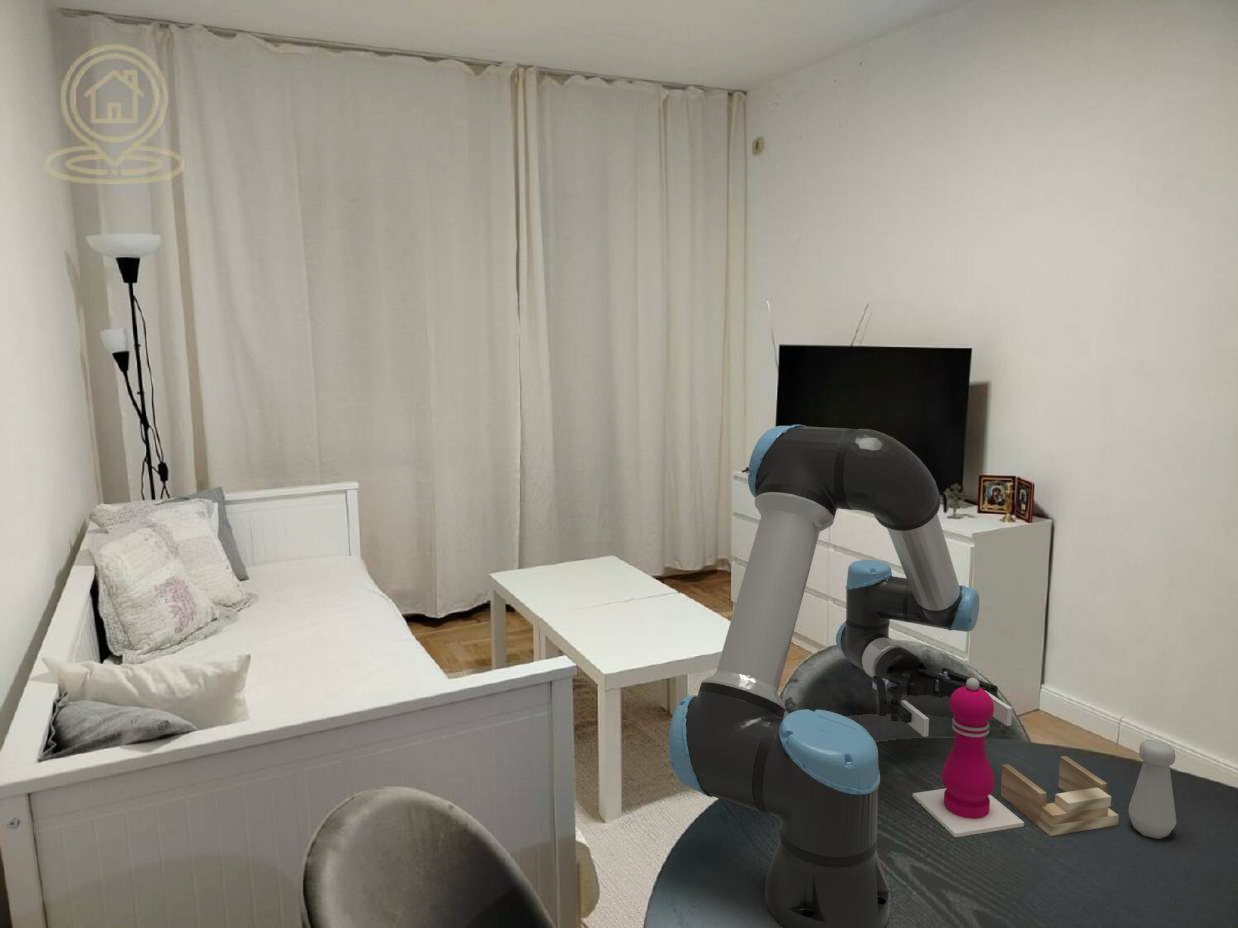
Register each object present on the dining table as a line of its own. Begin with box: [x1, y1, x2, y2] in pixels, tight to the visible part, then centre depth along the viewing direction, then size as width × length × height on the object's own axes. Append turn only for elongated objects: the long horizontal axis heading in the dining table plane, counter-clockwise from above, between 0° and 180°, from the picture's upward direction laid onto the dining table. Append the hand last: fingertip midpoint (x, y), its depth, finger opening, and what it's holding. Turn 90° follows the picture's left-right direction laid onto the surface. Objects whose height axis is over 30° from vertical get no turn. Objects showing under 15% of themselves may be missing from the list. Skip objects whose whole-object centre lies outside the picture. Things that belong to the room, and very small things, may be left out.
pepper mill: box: [941, 677, 995, 818], centre depth 128 cm, size 7×7×20 cm
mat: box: [912, 787, 1025, 838], centre depth 130 cm, size 11×11×1 cm
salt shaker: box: [1128, 739, 1177, 840], centre depth 123 cm, size 6×6×13 cm
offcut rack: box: [1000, 755, 1120, 837], centre depth 130 cm, size 11×11×5 cm
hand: (968, 722), depth 129 cm, fingers open, 13 cm apart
